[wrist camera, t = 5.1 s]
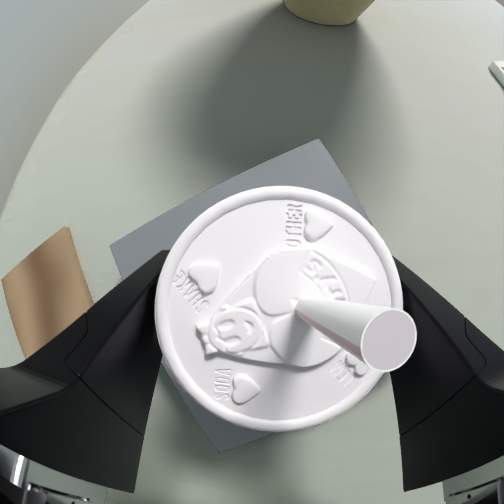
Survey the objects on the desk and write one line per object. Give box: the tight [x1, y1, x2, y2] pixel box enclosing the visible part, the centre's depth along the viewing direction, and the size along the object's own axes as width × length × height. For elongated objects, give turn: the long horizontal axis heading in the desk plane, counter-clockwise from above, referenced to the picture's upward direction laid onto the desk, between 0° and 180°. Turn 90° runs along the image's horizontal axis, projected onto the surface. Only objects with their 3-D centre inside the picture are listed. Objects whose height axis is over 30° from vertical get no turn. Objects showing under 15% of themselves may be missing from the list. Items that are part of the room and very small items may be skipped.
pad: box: [1, 226, 94, 359], centre depth 16 cm, size 9×9×1 cm
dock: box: [110, 139, 386, 453], centre depth 14 cm, size 13×13×3 cm
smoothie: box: [155, 186, 417, 432], centre depth 9 cm, size 6×6×14 cm
